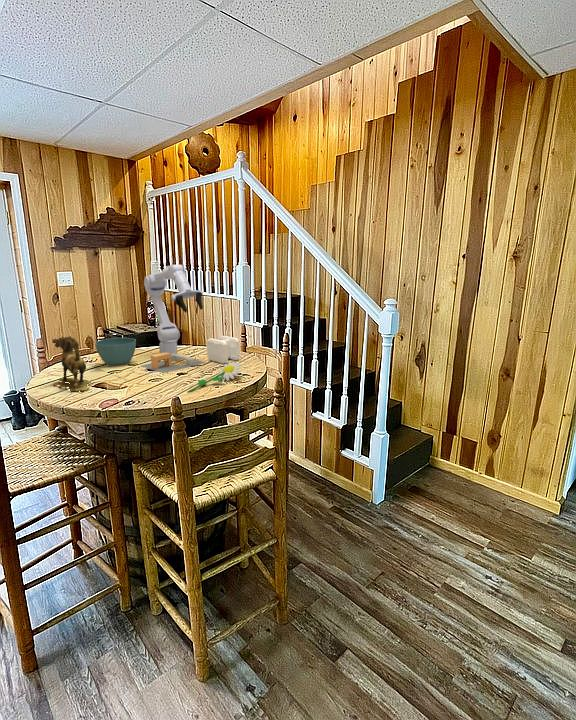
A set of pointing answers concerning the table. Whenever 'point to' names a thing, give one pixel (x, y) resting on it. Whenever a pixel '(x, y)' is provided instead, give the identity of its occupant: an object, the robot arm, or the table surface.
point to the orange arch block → (159, 357)
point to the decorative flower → (222, 374)
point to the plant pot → (116, 350)
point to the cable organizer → (223, 349)
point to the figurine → (71, 364)
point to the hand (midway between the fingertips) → (194, 309)
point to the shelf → (174, 357)
